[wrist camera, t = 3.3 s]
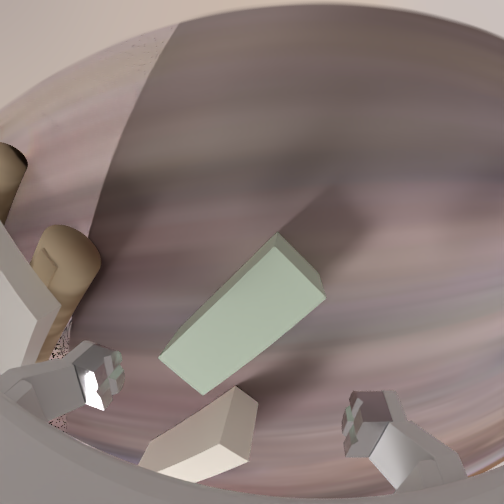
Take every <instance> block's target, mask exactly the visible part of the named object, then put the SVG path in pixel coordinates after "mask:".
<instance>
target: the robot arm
mask: <svg viewBox="0 0 504 504" xmlns="http://www.w3.org/2000/svg"><path fill="white" fill-rule="evenodd" d="M121 362H122V357H121V353H120V352H119V351H117V350H114V349H111V348H108V347H105V346H102V345H100V344H96V343H94V342H91V341H88V340H85V341H83V342H81V343H80V344H79V345H78V346H76V347H75V348H74V349H73V350H72V351H70V352H69V353H68V354H67V355H66V356H64V357H63V358H62V359H59V358H57V359H53V360H48V361H44V362H39V363H35V364H30V365H26V366H21V367H16V368H11V369H8V370H7V371H6V372H4V373H3V374H2V375H1V376H0V504H504V465H503V466H501V467H498V468H495V469H493V470H490V471H487V472H484V473H481V474H479V475H475V476H472V477H469V478H468V477H467V474H466V472H465V469H464V467H463V465H462V462H461V460H460V458H459V455H458V453H457V452H455V451H454V450H452V449H451V448H449V447H448V446H446V445H445V444H444V443H442V442H441V441H439V440H438V439H436V438H435V437H434V436H432V435H431V434H429V433H428V432H426V431H425V430H424V429H422V428H421V427H419V426H418V425H417V424H415V423H414V422H413V421H408V420H407V418H406V415H405V412H404V410H403V407H402V405H401V402H400V400H399V398H398V395H397V393H396V391H394V390H387V391H353V392H352V393H351V396H350V398H349V401H350V406H348V407H347V408H346V409H345V411H344V414H343V419H342V434H343V435H344V436H345V437H346V439H345V441H344V451H345V457H369V459H370V460H371V461H372V463H373V464H374V465H375V466H376V467H377V468H378V470H379V471H380V472H381V473H382V474H383V475H384V476H385V478H386V479H387V480H388V481H389V482H390V483H391V484H392V485H393V487H394V488H395V489H396V491H395V492H394V493H393V494H390V495H382V496H372V497H360V498H339V499H310V498H289V497H276V496H266V495H257V494H250V493H243V492H236V491H231V490H225V489H220V488H215V487H210V486H206V485H201V484H197V483H193V482H189V481H185V480H181V479H178V478H174V477H171V476H168V475H164V474H161V473H158V472H155V471H152V470H149V469H146V468H143V467H140V466H138V465H135V464H132V463H130V462H127V461H124V460H122V459H119V458H117V457H115V456H112V455H110V454H107V453H105V452H103V451H101V450H98V449H96V448H94V447H92V446H90V445H88V444H86V443H84V442H82V441H80V440H78V439H76V438H74V437H72V436H70V435H68V434H66V433H64V432H63V431H61V430H59V429H57V428H55V427H54V426H52V425H50V424H49V423H48V421H50V420H52V419H54V418H57V417H59V416H61V415H64V414H66V413H68V412H70V411H73V410H75V409H77V408H79V407H81V406H84V405H85V403H86V404H88V405H91V406H93V407H96V408H98V409H101V410H103V411H105V409H106V408H107V407H108V406H109V404H110V403H111V402H112V401H113V398H112V395H114V394H117V393H119V392H120V390H121V389H122V387H123V384H124V380H125V374H124V370H123V368H122V367H121V366H120V363H121Z"/></svg>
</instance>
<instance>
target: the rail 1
mask: <svg viewBox="0 0 504 504" xmlns="http://www.w3.org/2000/svg"><path fill="white" fill-rule="evenodd" d="M27 167H28V162H27V159H26V158H25V156H24V155H23V154H22V153H21V152H20V151H19V150H18V149H16V148H15V147H13V146H11V145H8V144H6V143H2V142H0V220H1V222H2V224H3V225H5V222H6V219H7V216H8V213H9V211H10V208H11V205H12V203H13V200H14V197H15V195H16V193H17V190H18V188H19V185H20V183H21V181H22V178H23V176H24V174H25V172H26V170H27Z"/></svg>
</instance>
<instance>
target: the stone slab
mask: <svg viewBox="0 0 504 504" xmlns="http://www.w3.org/2000/svg"><path fill="white" fill-rule="evenodd" d="M61 306H62V305H61V304H60V303H59V302H58V300H57V299H56V298H55V297H54V296H53V294H52V293H51V292H50V291H49V289H48V288H47V287H46V286H45V284H44V283H43V282H42V280H41V279H40V278H39V277H38V275H37V274H36V273H35V271H34V270H33V268H32V267H31V266H30V264H29V263H28V262H27V260H26V259H25V257H24V256H23V255H22V253H21V252H20V250H19V249H18V247H17V246H16V244H15V243H14V241H13V240H12V238H11V237H10V235H9V233H8V232H7V230H6V229H5V227H4V225H3V224H2V222H1V220H0V375H2V374H3V373H4V372H6V371H7V370H8V369H11V368H16V367H21V366H26V365H30V364H35V362H36V360H37V357H38V355H39V352H40V350H41V348H42V346H43V343H44V341H45V339H46V337H47V334H48V332H49V330H50V328H51V326H52V324H53V322H54V320H55V318H56V316H57V314H58V312H59V310H60V308H61Z"/></svg>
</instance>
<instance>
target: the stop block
mask: <svg viewBox="0 0 504 504" xmlns="http://www.w3.org/2000/svg"><path fill="white" fill-rule="evenodd" d="M257 409H258V402H257V401H255V400H254V399H253V398H251V397H250V396H249V395H247V394H246V393H245V392H243V391H242V390H241V389H239V388H238V387H237V386H234V387H233V388H232V389H230V390H229V391H227V392H226V393H224V394H223V395H222V396H220V397H219V398H217V399H216V400H214V401H213V402H211V403H210V404H209V405H207V406H206V407H204V408H203V409H201V410H200V411H198V412H197V413H195V414H193V415H192V416H190V417H189V418H187V419H186V420H184V421H183V422H181V423H179V424H178V425H176V426H175V427H173V428H171V429H170V430H168V431H167V432H165V433H163V434H162V435H160V436H158V437H157V438H155V439H153V440H152V441H150V443H149V445H148V447H147V449H146V451H145V453H144V455H143V456H142V458H141V460H140V462H139V464H138V466H140V467H143V468H146V469H149V470H152V471H155V472H158V473H161V474H164V475H168V476H171V477H174V478H178V479H181V480H185V481H189V482H193V483H195V482H198V481H201V480H204V479H207V478H209V477H212V476H215V475H217V474H220V473H222V472H225V471H227V470H230V469H232V468H235V467H237V466H239V465H242V464H244V463H246V462H248V461H249V456H250V451H251V445H252V439H253V433H254V427H255V421H256V415H257Z"/></svg>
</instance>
